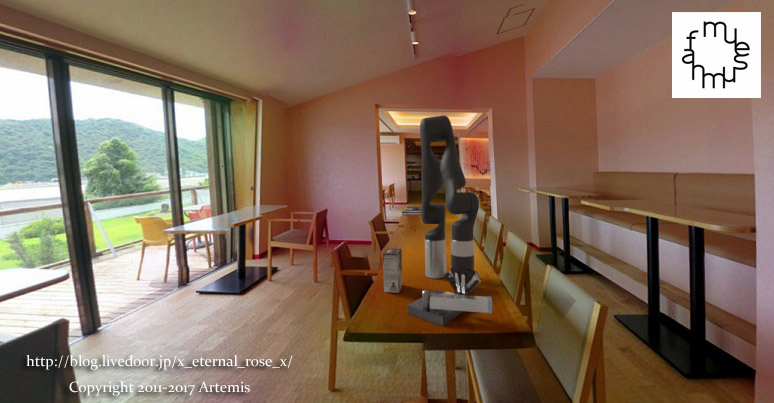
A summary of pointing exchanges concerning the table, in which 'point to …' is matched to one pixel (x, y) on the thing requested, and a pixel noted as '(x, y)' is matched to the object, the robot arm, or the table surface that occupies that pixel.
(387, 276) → the coffee box
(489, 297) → the swing bar
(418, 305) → the plate
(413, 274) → the table surface
